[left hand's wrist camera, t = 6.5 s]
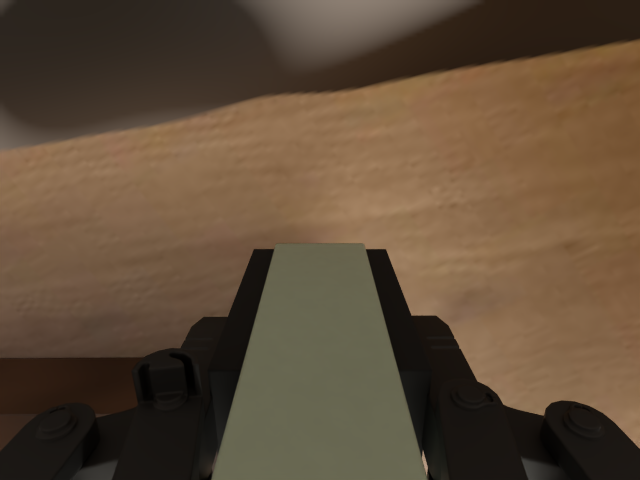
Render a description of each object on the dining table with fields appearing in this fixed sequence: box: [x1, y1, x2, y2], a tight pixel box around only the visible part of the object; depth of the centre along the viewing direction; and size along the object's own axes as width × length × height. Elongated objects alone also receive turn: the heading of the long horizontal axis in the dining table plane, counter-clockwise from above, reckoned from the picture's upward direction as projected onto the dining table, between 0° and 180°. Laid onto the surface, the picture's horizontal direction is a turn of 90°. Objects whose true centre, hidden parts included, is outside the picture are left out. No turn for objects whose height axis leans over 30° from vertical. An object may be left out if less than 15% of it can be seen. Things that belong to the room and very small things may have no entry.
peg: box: [211, 243, 427, 480], centre depth 11 cm, size 3×3×10 cm
